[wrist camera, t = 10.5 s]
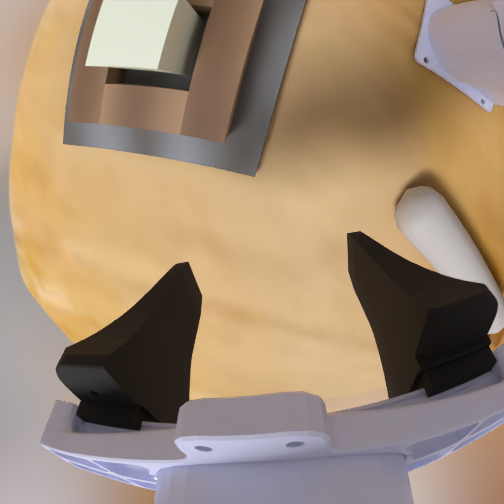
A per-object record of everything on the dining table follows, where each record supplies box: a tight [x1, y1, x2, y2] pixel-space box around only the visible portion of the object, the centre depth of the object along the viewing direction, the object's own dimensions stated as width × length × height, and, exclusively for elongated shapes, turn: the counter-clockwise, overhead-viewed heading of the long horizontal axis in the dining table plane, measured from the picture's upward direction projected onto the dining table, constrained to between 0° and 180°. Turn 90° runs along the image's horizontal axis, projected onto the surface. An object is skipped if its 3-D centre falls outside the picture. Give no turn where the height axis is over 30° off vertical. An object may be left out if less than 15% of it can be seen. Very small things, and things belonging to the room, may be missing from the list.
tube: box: [394, 186, 504, 334], centre depth 23 cm, size 5×5×25 cm
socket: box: [63, 0, 306, 177], centre depth 14 cm, size 16×16×4 cm
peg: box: [85, 0, 206, 76], centre depth 12 cm, size 4×4×7 cm
